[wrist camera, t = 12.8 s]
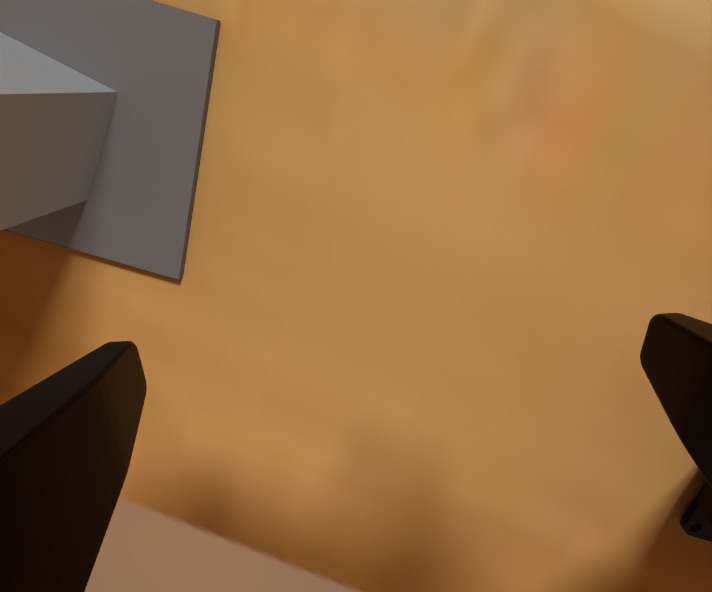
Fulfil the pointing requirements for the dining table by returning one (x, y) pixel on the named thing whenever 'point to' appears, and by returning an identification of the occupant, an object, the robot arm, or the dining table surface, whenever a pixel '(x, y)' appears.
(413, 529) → the dining table surface
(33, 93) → the slate block
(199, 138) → the coaster
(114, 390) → the robot arm
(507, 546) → the dining table surface
